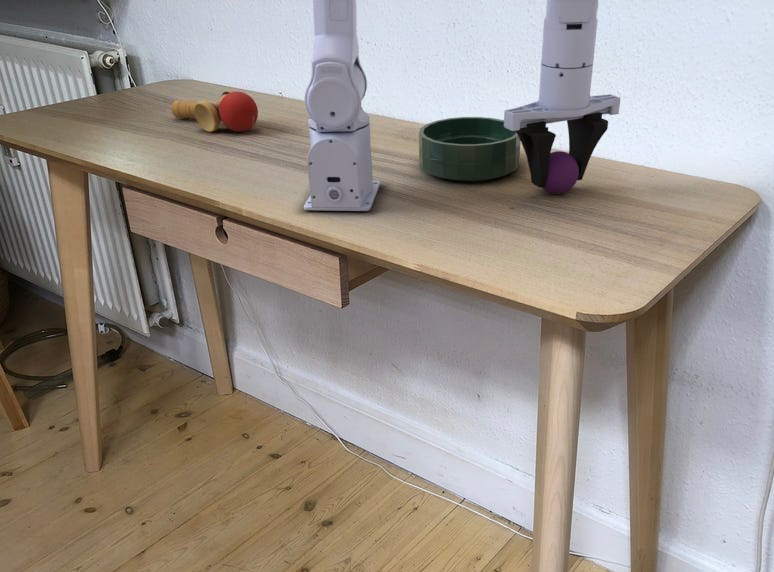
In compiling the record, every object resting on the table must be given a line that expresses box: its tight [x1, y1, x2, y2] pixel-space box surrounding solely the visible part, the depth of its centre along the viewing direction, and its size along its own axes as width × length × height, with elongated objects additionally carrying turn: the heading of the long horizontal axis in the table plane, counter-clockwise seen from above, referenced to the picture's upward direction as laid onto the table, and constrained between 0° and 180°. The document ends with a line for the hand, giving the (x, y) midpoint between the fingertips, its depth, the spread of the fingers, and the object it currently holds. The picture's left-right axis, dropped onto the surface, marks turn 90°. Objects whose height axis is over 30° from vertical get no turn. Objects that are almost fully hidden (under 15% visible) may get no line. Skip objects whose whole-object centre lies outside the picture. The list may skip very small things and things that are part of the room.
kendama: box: [171, 89, 259, 133], centre depth 122 cm, size 8×6×18 cm
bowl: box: [418, 116, 521, 182], centre depth 100 cm, size 13×13×5 cm
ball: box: [542, 150, 579, 195], centre depth 91 cm, size 5×5×5 cm
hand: (557, 181), depth 92 cm, fingers closed on ball, 5 cm apart
